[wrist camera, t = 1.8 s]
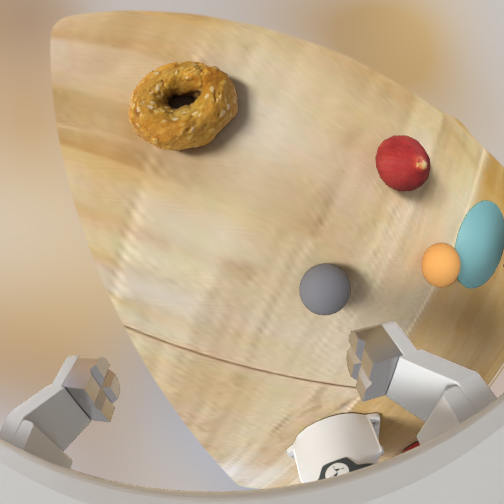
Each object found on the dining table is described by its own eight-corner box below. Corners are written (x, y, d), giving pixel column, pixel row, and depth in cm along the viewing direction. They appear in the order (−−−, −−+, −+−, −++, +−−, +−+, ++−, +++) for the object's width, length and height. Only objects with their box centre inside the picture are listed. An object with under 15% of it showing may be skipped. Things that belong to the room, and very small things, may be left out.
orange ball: (446, 265, 31) (470, 279, 25) (418, 284, 31) (440, 302, 26) (439, 231, 29) (465, 242, 24) (409, 250, 30) (434, 264, 25)
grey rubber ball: (347, 287, 31) (364, 308, 26) (307, 308, 32) (317, 333, 26) (330, 248, 30) (347, 264, 24) (287, 271, 30) (295, 292, 25)
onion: (403, 138, 26) (445, 134, 18) (407, 186, 28) (450, 195, 20) (361, 137, 26) (398, 130, 18) (366, 189, 28) (403, 197, 20)
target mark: (506, 261, 31) (507, 261, 31) (458, 303, 33) (459, 304, 33) (498, 187, 27) (499, 187, 27) (446, 225, 29) (447, 225, 29)
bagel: (235, 152, 27) (233, 148, 22) (135, 153, 26) (116, 151, 22) (241, 66, 24) (240, 47, 19) (144, 71, 23) (127, 56, 19)
